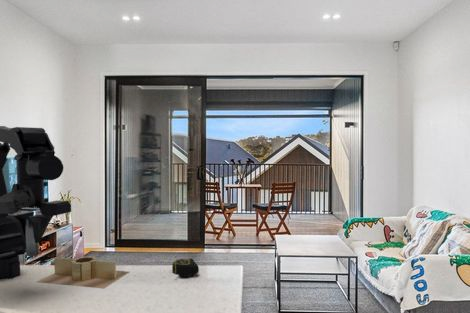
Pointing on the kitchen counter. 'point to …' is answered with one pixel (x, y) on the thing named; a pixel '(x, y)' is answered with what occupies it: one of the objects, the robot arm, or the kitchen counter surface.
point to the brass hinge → (85, 268)
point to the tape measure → (185, 267)
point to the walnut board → (87, 283)
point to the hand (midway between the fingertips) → (32, 242)
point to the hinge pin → (30, 239)
